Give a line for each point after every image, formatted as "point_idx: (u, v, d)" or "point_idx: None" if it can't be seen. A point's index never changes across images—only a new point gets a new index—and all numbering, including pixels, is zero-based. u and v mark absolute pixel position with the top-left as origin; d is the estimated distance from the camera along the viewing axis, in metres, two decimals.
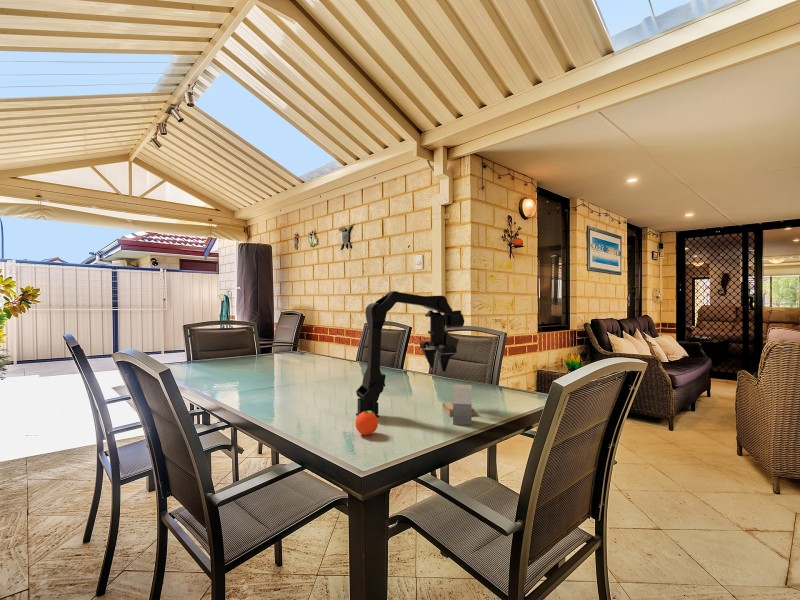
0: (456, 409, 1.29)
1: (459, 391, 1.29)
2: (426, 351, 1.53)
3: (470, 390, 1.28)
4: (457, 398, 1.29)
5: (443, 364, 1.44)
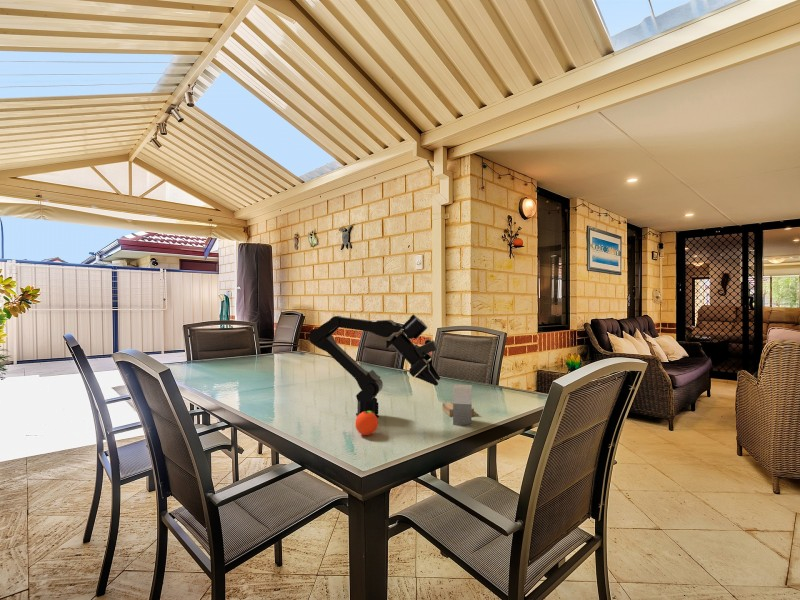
0: (456, 409, 1.29)
1: (459, 391, 1.29)
2: None
3: (470, 390, 1.28)
4: (457, 398, 1.29)
5: (429, 380, 1.28)
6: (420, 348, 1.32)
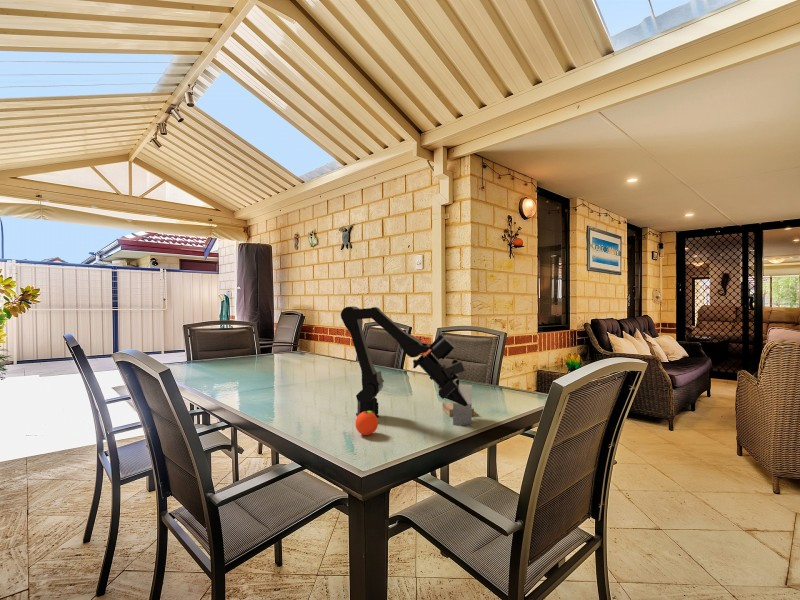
0: (456, 409, 1.29)
1: (459, 391, 1.29)
2: None
3: (470, 390, 1.28)
4: None
5: (458, 401, 1.28)
6: (448, 369, 1.30)
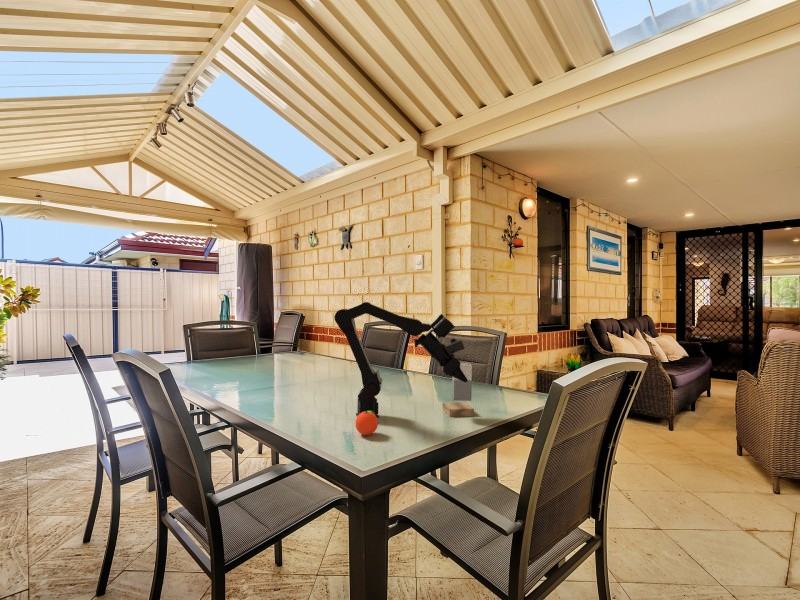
0: (457, 385, 1.34)
1: (460, 367, 1.34)
2: None
3: (470, 367, 1.34)
4: None
5: (459, 377, 1.33)
6: (449, 347, 1.35)
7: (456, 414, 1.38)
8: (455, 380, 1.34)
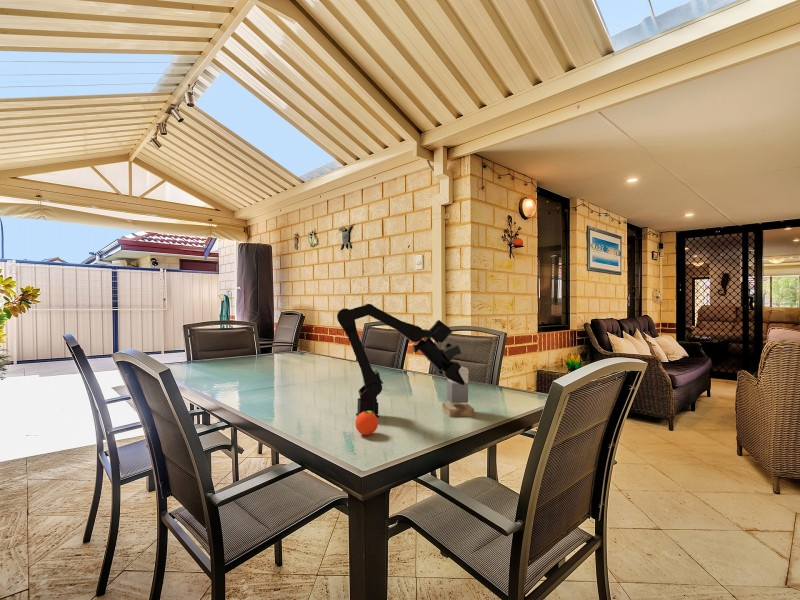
0: (455, 388, 1.40)
1: None
2: (442, 372, 1.46)
3: (467, 370, 1.41)
4: None
5: (458, 380, 1.39)
6: (447, 351, 1.40)
7: (456, 414, 1.38)
8: (453, 383, 1.40)
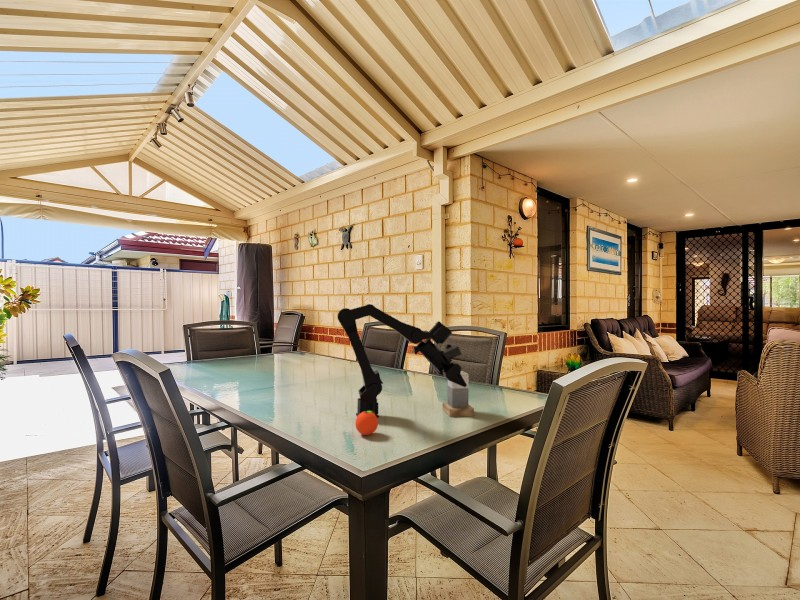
0: (455, 393, 1.40)
1: None
2: (442, 373, 1.47)
3: (467, 375, 1.41)
4: (455, 383, 1.40)
5: (459, 382, 1.37)
6: (447, 353, 1.40)
7: (456, 414, 1.38)
8: (453, 388, 1.40)
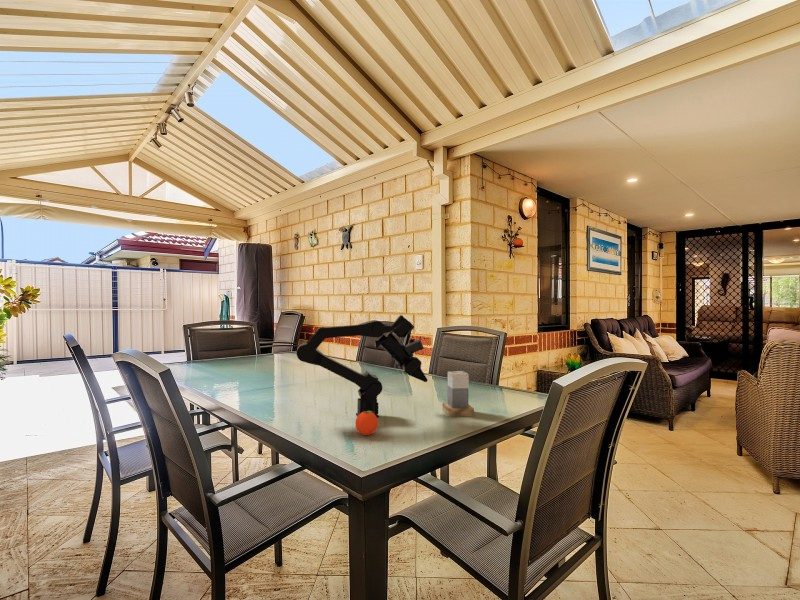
0: (455, 393, 1.40)
1: (458, 376, 1.40)
2: None
3: (467, 375, 1.41)
4: (455, 383, 1.40)
5: (420, 377, 1.35)
6: (409, 347, 1.38)
7: (456, 414, 1.38)
8: (453, 388, 1.40)
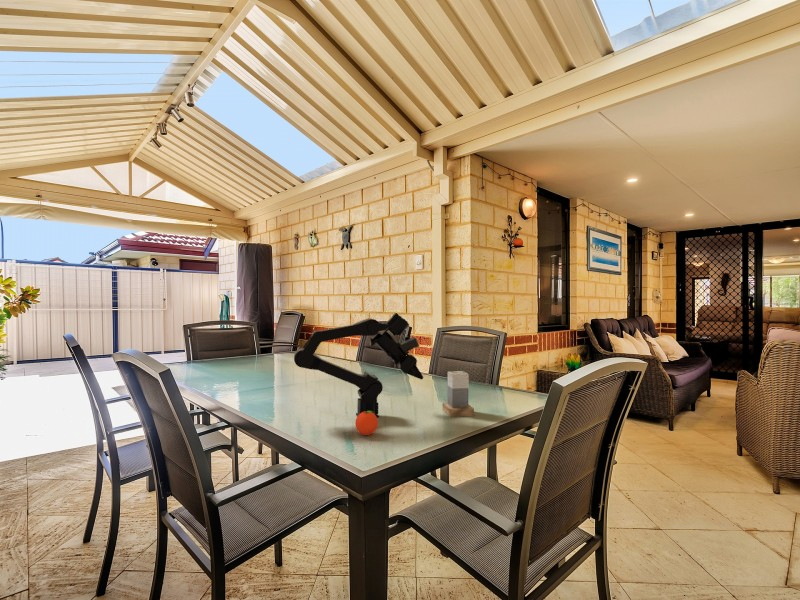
0: (455, 393, 1.40)
1: (458, 376, 1.40)
2: None
3: (467, 375, 1.41)
4: (455, 383, 1.40)
5: (416, 375, 1.35)
6: (404, 345, 1.38)
7: (456, 414, 1.38)
8: (453, 388, 1.40)
